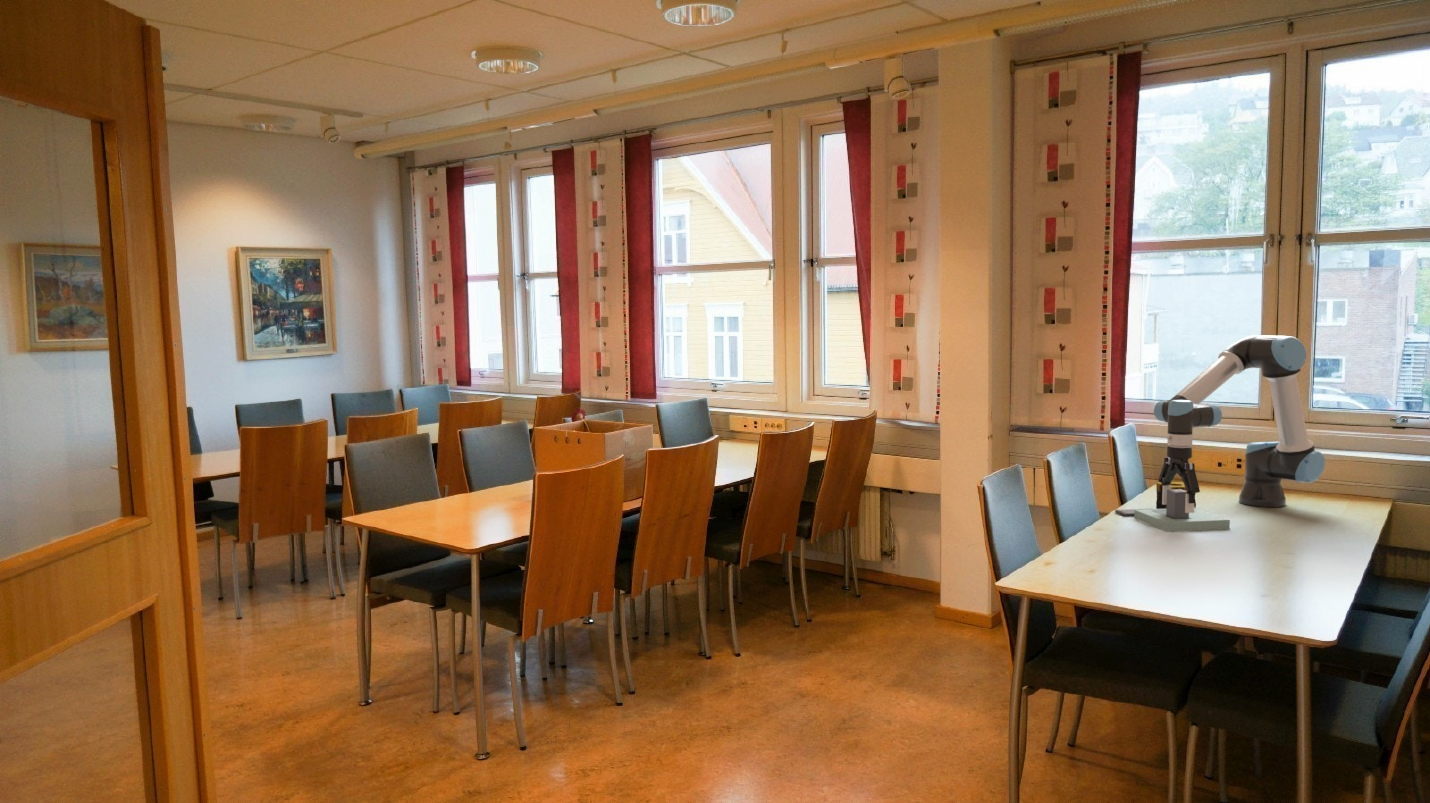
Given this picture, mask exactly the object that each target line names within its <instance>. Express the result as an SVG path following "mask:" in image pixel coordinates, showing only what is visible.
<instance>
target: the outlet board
mask: <svg viewBox="0 0 1430 803" xmlns="http://www.w3.org/2000/svg"><path fill="white" fill-rule="evenodd" d="M1143 509H1144V510H1135V516H1134V519H1136V520H1137V521H1139V522H1142V523H1144V524H1145V523H1146V524H1147V525H1150V526H1153V527H1154V528H1157V529H1159V530H1162V531H1164V532H1186V531H1206V530H1209V531H1210V530H1227V529H1228V530H1230V528H1231V526H1230V525H1231V519H1229V518H1225V517H1224V516H1220V515H1217V514H1215V513H1211V512H1208V511H1206V510H1202V509H1200V508H1198V507H1196V508H1194V513H1189V519H1172V518H1169V517H1166V509H1157V508H1143Z"/></svg>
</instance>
